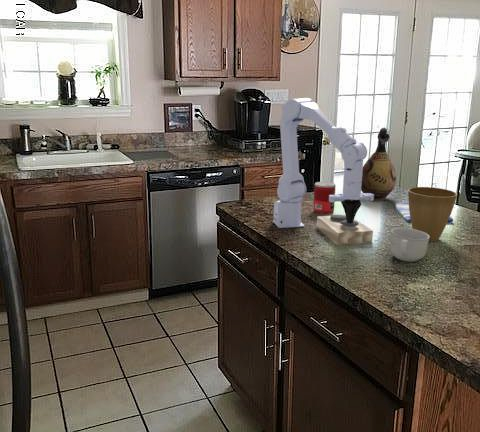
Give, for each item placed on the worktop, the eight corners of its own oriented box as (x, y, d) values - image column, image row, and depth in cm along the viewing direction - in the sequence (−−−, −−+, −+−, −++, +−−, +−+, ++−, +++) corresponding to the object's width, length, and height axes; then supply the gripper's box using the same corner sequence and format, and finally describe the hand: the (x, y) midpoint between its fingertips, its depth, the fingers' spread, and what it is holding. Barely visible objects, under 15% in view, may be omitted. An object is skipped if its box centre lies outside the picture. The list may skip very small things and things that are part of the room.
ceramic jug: (395, 203, 217) (402, 131, 209) (357, 201, 220) (362, 129, 212) (392, 194, 234) (398, 126, 225) (357, 192, 236) (362, 125, 228)
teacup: (397, 249, 163) (399, 224, 161) (432, 257, 156) (435, 232, 154) (377, 261, 152) (380, 235, 150) (414, 270, 146) (417, 243, 144)
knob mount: (336, 244, 166) (337, 232, 165) (316, 227, 184) (317, 216, 183) (372, 242, 169) (373, 230, 168) (348, 225, 187) (349, 214, 186)
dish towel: (437, 208, 213) (437, 202, 212) (454, 225, 190) (455, 218, 189) (393, 207, 214) (394, 200, 213) (405, 223, 191) (406, 216, 191)
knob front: (343, 238, 169) (344, 225, 168) (337, 233, 174) (338, 220, 173) (360, 237, 170) (361, 224, 169) (353, 232, 175) (354, 219, 174)
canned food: (335, 214, 201) (337, 186, 198) (314, 213, 201) (315, 185, 198) (332, 208, 209) (334, 181, 206) (312, 208, 209) (313, 181, 206)
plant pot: (446, 248, 164) (452, 199, 159) (398, 240, 171) (402, 192, 167) (454, 236, 176) (460, 189, 172) (409, 229, 183) (414, 184, 179)
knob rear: (333, 232, 177) (334, 219, 176) (327, 227, 183) (328, 215, 181) (349, 231, 179) (349, 218, 177) (342, 226, 184) (343, 214, 183)
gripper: (335, 184, 162) (333, 227, 166) (379, 183, 165) (375, 224, 168) (327, 180, 168) (325, 220, 172) (369, 178, 171) (366, 218, 175)
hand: (349, 222), depth 171 cm, fingers closed, pressing on knob front
